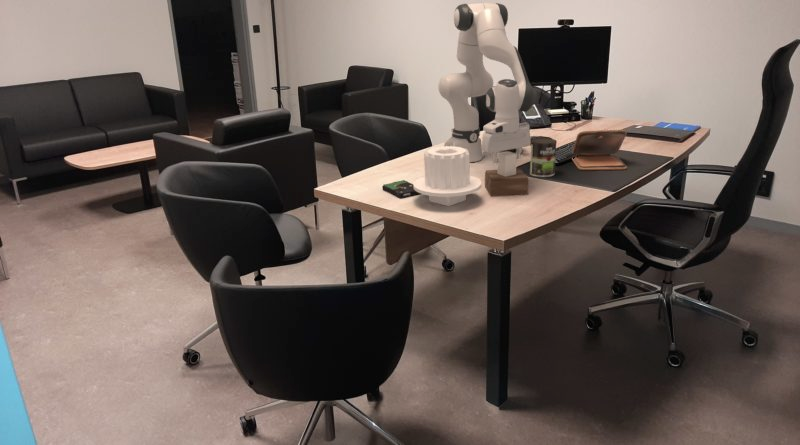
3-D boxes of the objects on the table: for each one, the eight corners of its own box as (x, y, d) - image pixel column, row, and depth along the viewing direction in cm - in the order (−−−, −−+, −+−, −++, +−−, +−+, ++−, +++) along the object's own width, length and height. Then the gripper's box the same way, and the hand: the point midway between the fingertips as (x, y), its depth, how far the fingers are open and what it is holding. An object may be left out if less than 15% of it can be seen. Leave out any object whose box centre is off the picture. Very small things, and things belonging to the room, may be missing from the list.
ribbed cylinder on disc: (400, 202, 234) (397, 152, 227) (444, 186, 250) (443, 139, 244) (450, 216, 217) (449, 163, 210) (495, 198, 233) (495, 148, 227)
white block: (497, 173, 240) (497, 153, 238) (507, 171, 243) (508, 151, 240) (505, 176, 236) (505, 155, 233) (516, 174, 238) (516, 153, 236)
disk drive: (423, 195, 243) (404, 186, 255) (423, 188, 242) (404, 179, 254) (400, 200, 238) (381, 190, 250) (400, 193, 237) (381, 184, 249)
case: (617, 158, 280) (619, 122, 275) (628, 170, 261) (631, 132, 255) (570, 159, 283) (572, 123, 277) (578, 171, 263) (580, 134, 258)
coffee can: (559, 175, 258) (561, 141, 253) (536, 178, 255) (538, 144, 250) (547, 169, 267) (549, 136, 262) (525, 172, 265) (526, 139, 260)
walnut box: (485, 187, 248) (485, 170, 246) (520, 185, 248) (520, 168, 246) (490, 197, 236) (490, 179, 233) (527, 195, 236) (528, 177, 234)
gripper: (524, 119, 240) (523, 155, 245) (479, 126, 231) (479, 163, 236) (534, 122, 235) (533, 158, 239) (489, 129, 226) (489, 166, 231)
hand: (506, 161), depth 238 cm, fingers open, 8 cm apart
